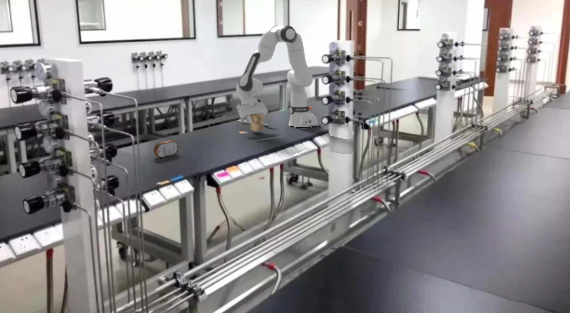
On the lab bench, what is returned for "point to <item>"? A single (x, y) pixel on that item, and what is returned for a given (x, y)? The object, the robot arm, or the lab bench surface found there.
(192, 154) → the lab bench surface
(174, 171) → the lab bench surface
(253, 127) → the oak block
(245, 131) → the plate
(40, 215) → the lab bench surface
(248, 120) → the test tube rack
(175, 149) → the tin
